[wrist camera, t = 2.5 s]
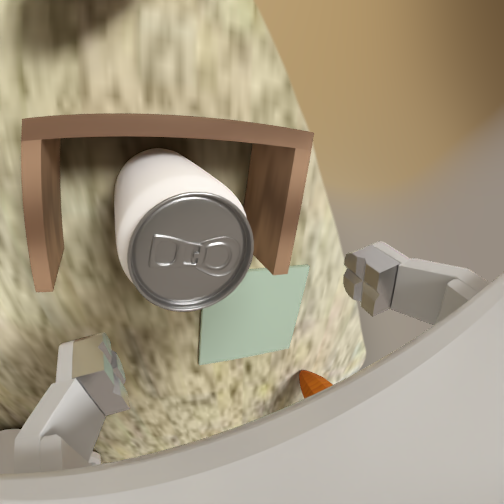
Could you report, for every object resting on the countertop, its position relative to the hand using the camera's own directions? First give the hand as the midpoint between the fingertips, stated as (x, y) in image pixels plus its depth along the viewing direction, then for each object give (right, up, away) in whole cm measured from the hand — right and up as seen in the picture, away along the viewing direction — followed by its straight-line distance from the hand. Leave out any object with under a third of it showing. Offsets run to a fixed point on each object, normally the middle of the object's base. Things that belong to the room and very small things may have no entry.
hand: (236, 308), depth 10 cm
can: (-7, +7, +14) cm, 17 cm away
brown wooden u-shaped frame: (-7, +7, +13) cm, 16 cm away
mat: (0, -5, +23) cm, 23 cm away
